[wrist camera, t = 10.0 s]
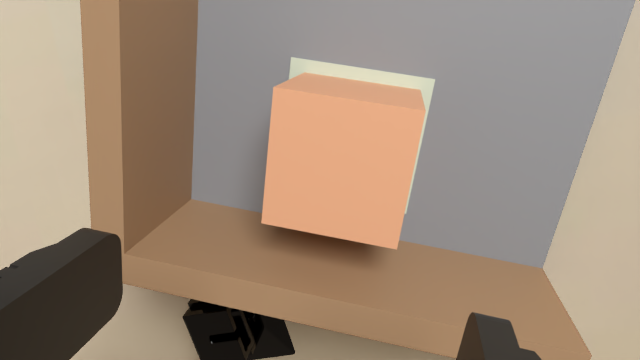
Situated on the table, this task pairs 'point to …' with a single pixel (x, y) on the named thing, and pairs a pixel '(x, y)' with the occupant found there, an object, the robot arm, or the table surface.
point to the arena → (428, 175)
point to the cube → (341, 157)
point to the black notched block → (235, 333)
